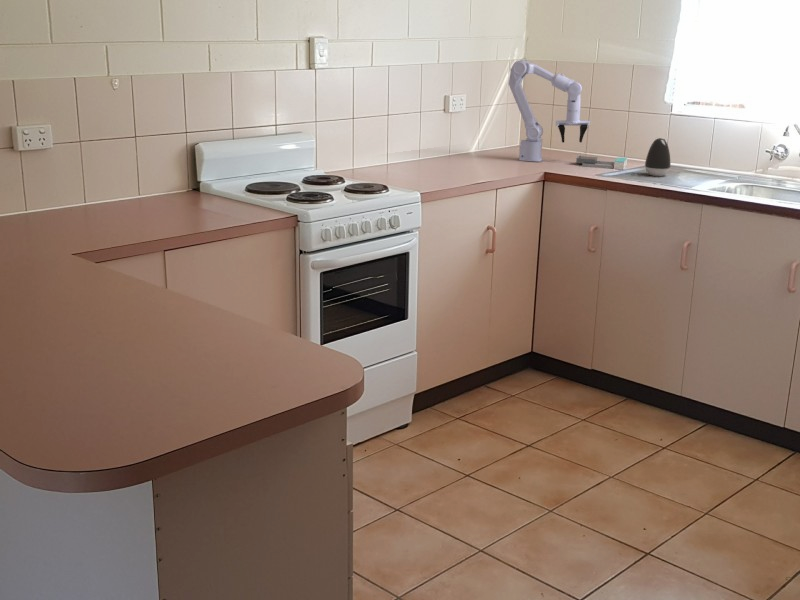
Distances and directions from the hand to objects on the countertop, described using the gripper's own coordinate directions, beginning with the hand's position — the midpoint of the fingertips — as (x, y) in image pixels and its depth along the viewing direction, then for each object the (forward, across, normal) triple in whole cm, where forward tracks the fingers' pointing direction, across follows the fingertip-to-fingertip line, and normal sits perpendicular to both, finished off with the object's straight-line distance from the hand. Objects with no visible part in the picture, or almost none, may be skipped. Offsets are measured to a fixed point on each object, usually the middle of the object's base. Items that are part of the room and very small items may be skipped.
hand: (571, 142), depth 408 cm
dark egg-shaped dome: (+10, +31, -28) cm, 43 cm away
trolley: (+9, +6, -4) cm, 12 cm away
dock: (+9, +14, -7) cm, 18 cm away
